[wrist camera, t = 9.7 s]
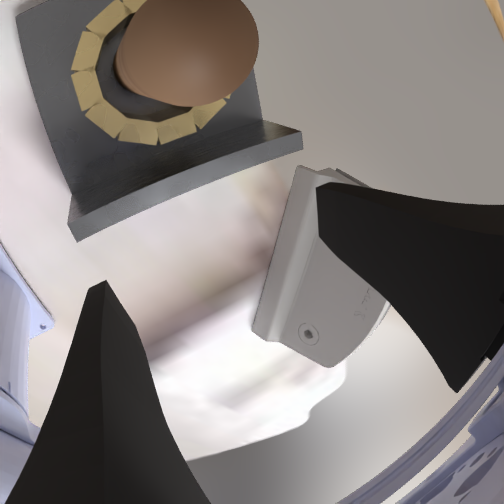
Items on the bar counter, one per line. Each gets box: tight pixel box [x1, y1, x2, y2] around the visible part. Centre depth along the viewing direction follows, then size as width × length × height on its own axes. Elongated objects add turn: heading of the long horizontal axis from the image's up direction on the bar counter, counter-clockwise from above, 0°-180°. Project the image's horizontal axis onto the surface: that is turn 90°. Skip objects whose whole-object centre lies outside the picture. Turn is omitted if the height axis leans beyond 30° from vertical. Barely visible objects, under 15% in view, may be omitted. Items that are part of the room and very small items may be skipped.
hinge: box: [252, 165, 391, 368], centre depth 24 cm, size 17×5×10 cm, turn 165°
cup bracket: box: [16, 0, 303, 242], centre depth 12 cm, size 12×12×5 cm
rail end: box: [113, 0, 259, 107], centre depth 9 cm, size 4×4×9 cm
